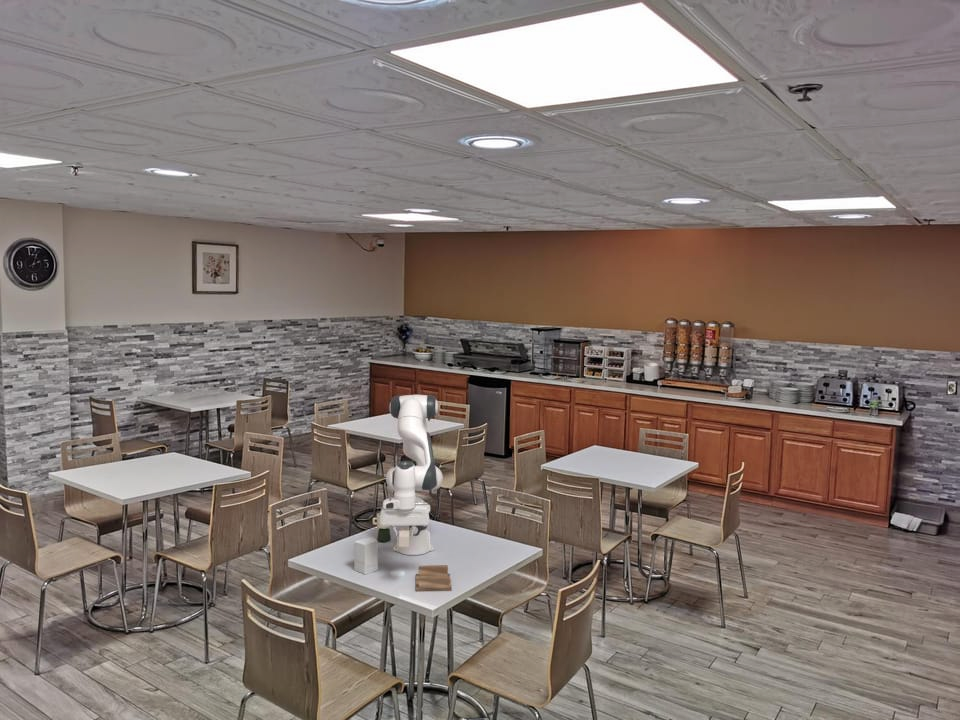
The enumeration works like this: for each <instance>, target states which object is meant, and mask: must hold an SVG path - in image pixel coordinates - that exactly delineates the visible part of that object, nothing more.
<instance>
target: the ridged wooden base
mask: <svg viewBox="0 0 960 720" xmlns="http://www.w3.org/2000/svg"><path fill="white" fill-rule="evenodd" d="M448 566H449V565H447V564H445V565H444V564H443V565H440V564H437V565H436V564H435V565H432V564H431V565H430V564H429V565H418V573H416V574H415V591H416V592H448V591H449V592H452V591H453V589H452V581H451V580H452V579H451V574H450V573H449V572H448V571H449V567H448Z"/></svg>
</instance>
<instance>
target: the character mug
mask: <svg viewBox="0 0 960 720" xmlns="http://www.w3.org/2000/svg"><path fill="white" fill-rule="evenodd" d="M380 513H381V511H380V512H378V513H376V517H373V518H372V525H376V527H377V529H378V531H377V532H378V533H377V541H378V542H389V541H390V540H391V529H390V528H392V526H381V525H380V524H379V520H380ZM375 520H376V521H375Z"/></svg>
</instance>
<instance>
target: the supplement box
mask: <svg viewBox="0 0 960 720" xmlns="http://www.w3.org/2000/svg"><path fill="white" fill-rule="evenodd" d="M353 543H354V545H353V546H354V548H353V549H354V552H353V553H354V554H353V555H354V557H353V559H354V562H353V563H354V565H353V567H354V569H353V570H354V571H356V572H358V573H361V574H364V575H368V574H370V573H374V572H376V571H378V570H379V540H375V539H373V538H369V537H365V538H362V539H359V540H355V541H354V542H353Z"/></svg>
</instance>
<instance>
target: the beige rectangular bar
mask: <svg viewBox="0 0 960 720" xmlns="http://www.w3.org/2000/svg"><path fill="white" fill-rule="evenodd" d="M398 531H399V547H409V526H399V530H398Z"/></svg>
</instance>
